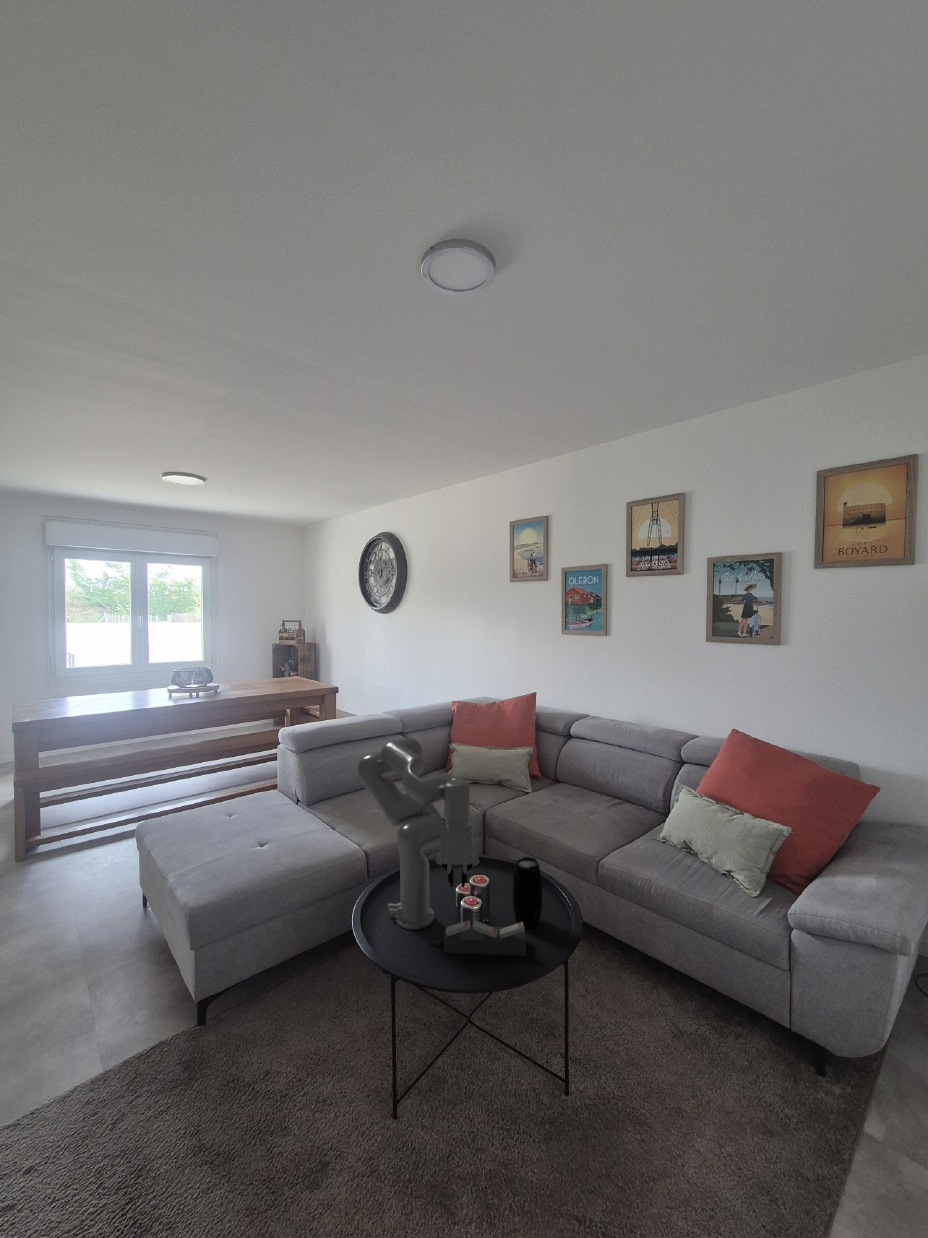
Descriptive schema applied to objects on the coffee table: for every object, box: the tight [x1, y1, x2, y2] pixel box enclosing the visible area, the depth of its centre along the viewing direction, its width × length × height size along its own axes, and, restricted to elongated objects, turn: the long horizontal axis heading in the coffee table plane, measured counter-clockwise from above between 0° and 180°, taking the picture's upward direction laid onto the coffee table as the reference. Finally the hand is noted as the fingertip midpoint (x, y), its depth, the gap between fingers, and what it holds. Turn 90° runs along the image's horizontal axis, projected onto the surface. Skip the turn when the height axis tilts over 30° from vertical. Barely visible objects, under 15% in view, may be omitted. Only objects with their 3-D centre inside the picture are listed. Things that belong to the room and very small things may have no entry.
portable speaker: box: [512, 856, 543, 930], centre depth 162 cm, size 9×9×20 cm
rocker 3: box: [500, 922, 524, 938], centre depth 148 cm, size 7×3×1 cm, turn 86°
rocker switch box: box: [431, 924, 527, 957], centre depth 150 cm, size 28×7×5 cm, turn 86°
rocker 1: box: [445, 919, 471, 936], centre depth 149 cm, size 7×3×1 cm, turn 86°
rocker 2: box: [472, 920, 497, 938], centre depth 148 cm, size 7×3×1 cm, turn 85°
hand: (457, 884), depth 149 cm, fingers open, 2 cm apart
